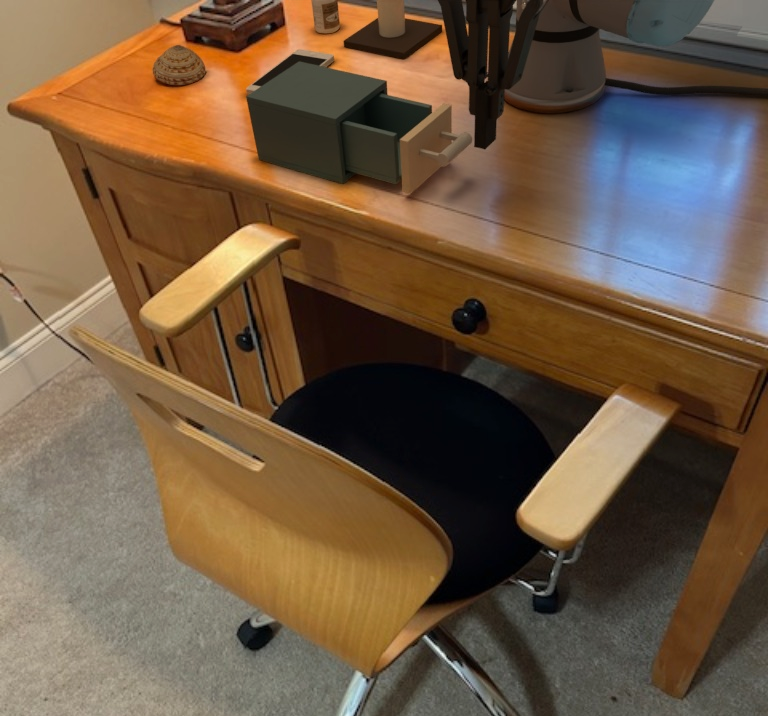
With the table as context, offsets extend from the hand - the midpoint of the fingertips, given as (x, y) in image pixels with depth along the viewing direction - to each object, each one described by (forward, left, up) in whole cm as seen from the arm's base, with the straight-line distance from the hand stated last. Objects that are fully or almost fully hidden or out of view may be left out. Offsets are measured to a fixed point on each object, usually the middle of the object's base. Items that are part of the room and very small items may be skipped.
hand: (485, 142), depth 95 cm
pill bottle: (+50, -35, -7) cm, 62 cm away
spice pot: (+37, -36, -6) cm, 52 cm away
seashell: (+62, -10, -7) cm, 63 cm away
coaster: (+37, -36, -7) cm, 52 cm away
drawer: (+12, 0, -6) cm, 14 cm away
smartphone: (+44, -17, -7) cm, 48 cm away
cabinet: (+25, 0, -7) cm, 26 cm away
